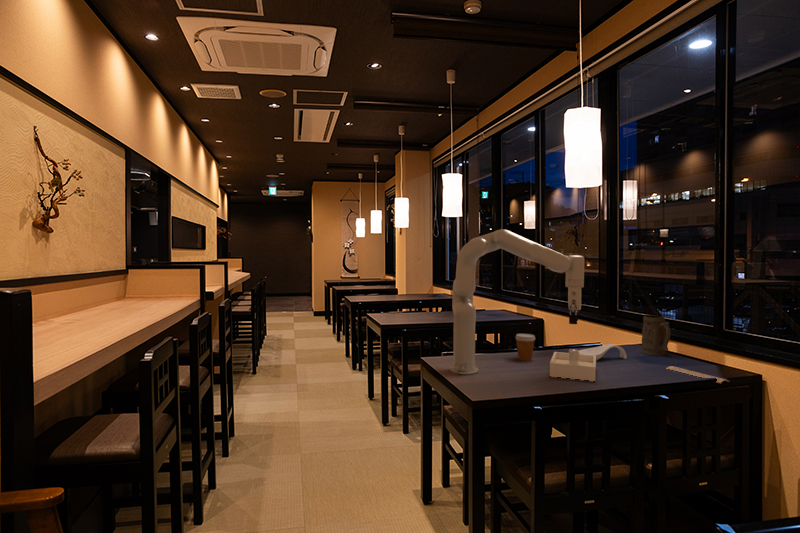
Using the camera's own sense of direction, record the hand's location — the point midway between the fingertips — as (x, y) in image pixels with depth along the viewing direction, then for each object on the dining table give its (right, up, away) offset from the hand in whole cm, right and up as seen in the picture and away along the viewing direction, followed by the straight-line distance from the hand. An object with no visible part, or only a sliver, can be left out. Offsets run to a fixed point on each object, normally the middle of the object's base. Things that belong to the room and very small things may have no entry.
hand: (573, 322), depth 203 cm
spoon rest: (+24, -22, +26) cm, 41 cm away
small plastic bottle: (0, -22, +1) cm, 22 cm away
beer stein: (+56, -21, +35) cm, 69 cm away
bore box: (0, -22, +1) cm, 22 cm away
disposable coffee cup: (-15, -21, +24) cm, 35 cm away
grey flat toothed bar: (+53, -24, -2) cm, 58 cm away
